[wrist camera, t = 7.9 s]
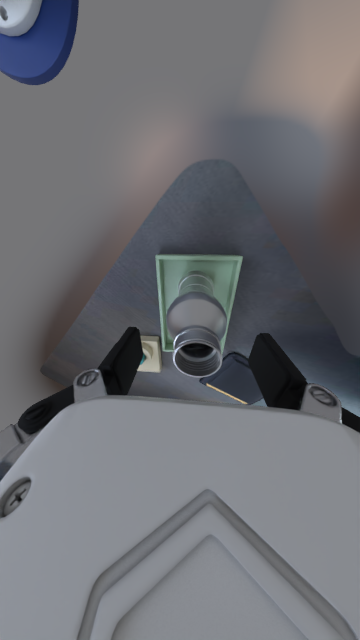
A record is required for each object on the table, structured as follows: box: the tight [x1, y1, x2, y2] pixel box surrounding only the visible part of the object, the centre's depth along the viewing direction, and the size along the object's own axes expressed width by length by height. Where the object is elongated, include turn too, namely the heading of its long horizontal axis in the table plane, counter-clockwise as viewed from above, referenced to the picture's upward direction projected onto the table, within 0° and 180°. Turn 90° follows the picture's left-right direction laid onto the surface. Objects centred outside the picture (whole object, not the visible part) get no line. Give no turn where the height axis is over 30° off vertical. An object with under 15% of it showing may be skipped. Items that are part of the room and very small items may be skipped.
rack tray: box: [156, 254, 243, 354], centre depth 29 cm, size 21×14×3 cm
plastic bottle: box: [166, 270, 227, 377], centre depth 19 cm, size 6×7×20 cm
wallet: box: [200, 352, 263, 405], centre depth 40 cm, size 20×2×15 cm
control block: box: [137, 335, 162, 372], centre depth 37 cm, size 11×9×4 cm
